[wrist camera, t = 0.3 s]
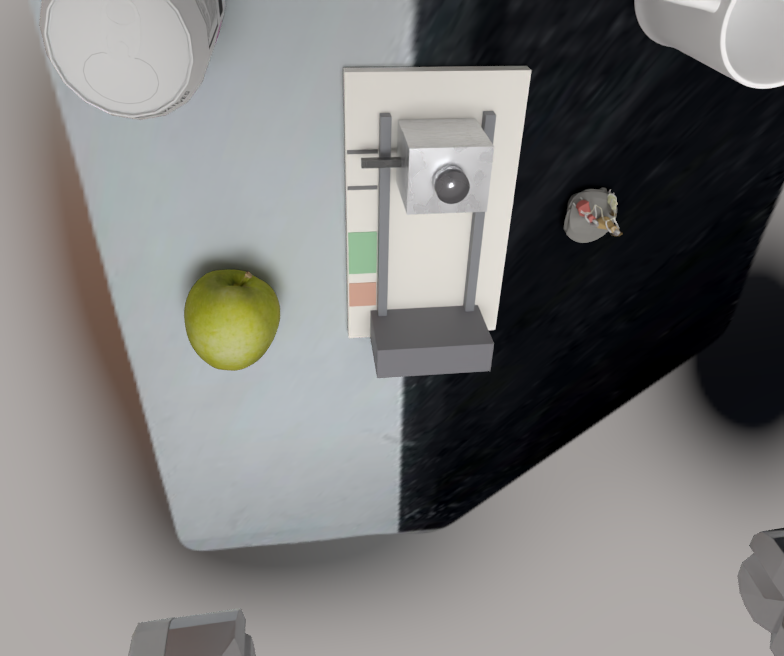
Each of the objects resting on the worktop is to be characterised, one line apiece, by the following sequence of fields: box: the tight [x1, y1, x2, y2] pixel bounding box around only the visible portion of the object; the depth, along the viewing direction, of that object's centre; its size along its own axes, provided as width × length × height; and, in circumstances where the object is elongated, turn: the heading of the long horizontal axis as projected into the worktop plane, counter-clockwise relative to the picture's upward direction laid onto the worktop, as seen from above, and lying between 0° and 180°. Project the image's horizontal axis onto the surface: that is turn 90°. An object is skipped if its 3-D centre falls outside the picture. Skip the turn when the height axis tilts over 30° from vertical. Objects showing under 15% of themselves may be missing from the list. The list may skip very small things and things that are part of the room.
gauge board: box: [343, 66, 531, 378], centre depth 55 cm, size 24×14×7 cm, turn 179°
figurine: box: [564, 187, 623, 243], centre depth 57 cm, size 5×4×6 cm
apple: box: [184, 270, 280, 370], centre depth 57 cm, size 8×9×8 cm
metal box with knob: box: [361, 118, 494, 215], centre depth 50 cm, size 5×9×7 cm, turn 89°
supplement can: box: [39, 0, 226, 120], centre depth 40 cm, size 8×8×15 cm
